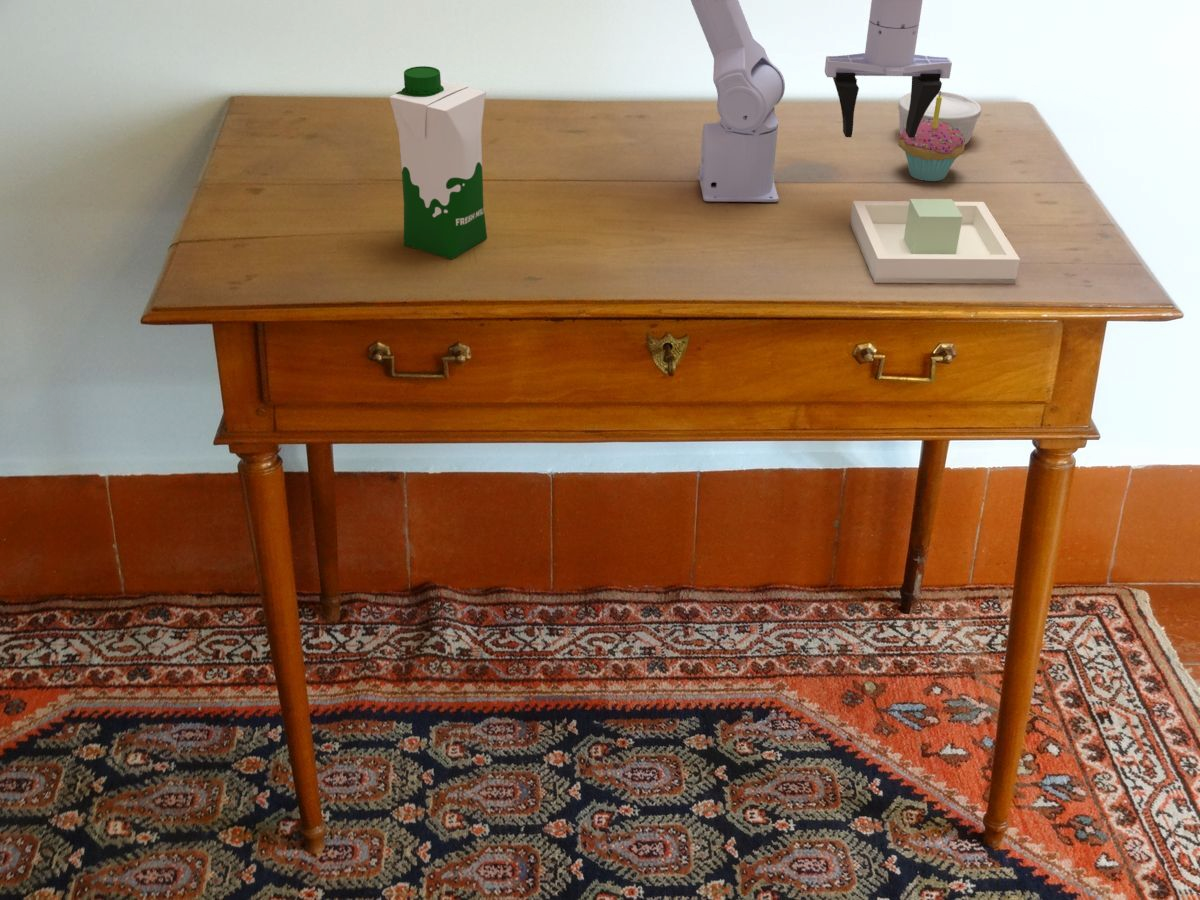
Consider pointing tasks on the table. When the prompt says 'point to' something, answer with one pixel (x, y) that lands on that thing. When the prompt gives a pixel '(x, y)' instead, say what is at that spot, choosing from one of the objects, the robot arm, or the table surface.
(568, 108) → the table surface
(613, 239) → the table surface
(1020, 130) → the table surface
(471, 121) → the milk carton
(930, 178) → the cupcake
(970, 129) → the ramekin
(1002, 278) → the cream bin
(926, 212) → the sage block
